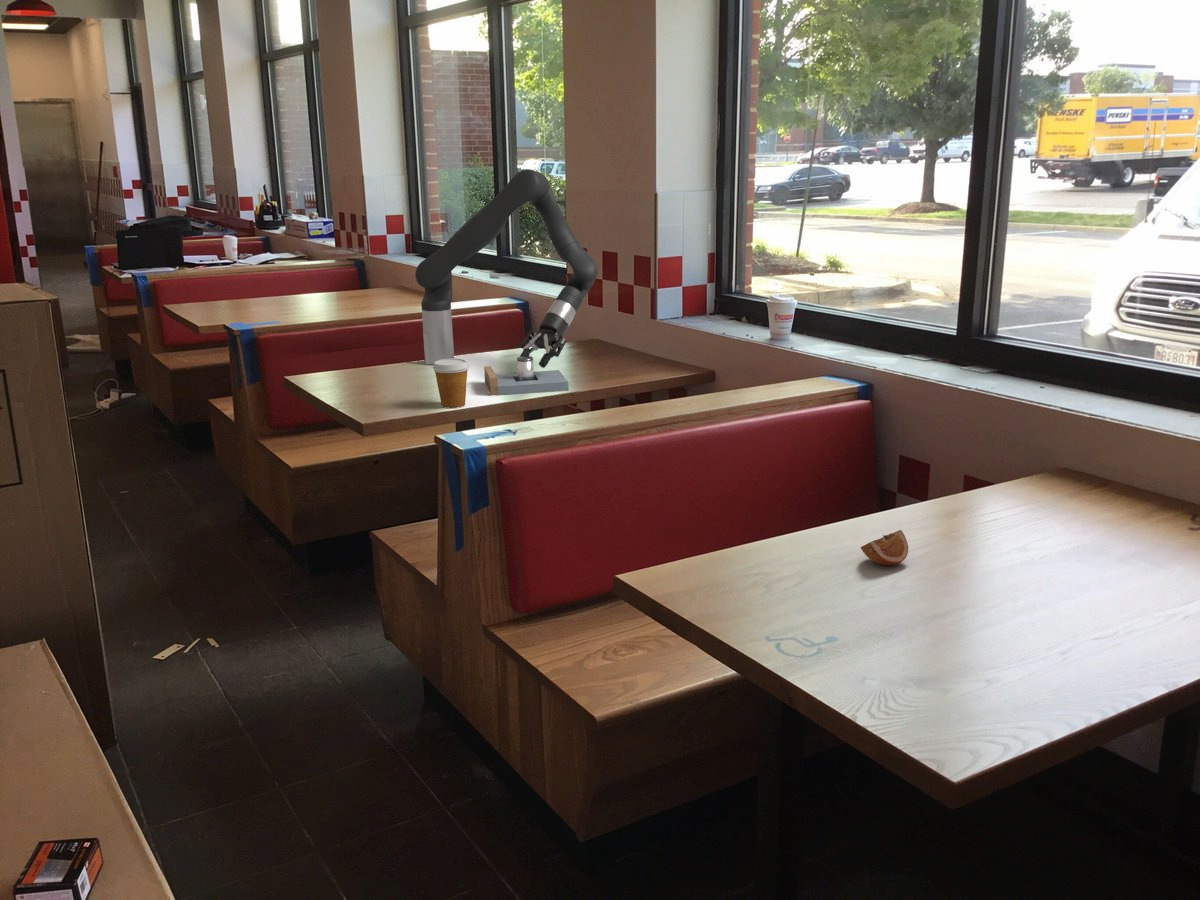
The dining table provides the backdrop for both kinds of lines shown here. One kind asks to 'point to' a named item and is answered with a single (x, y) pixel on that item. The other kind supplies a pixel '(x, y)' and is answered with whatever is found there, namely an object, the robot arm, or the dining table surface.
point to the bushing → (525, 368)
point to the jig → (524, 382)
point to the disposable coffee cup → (451, 381)
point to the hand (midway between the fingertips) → (530, 364)
